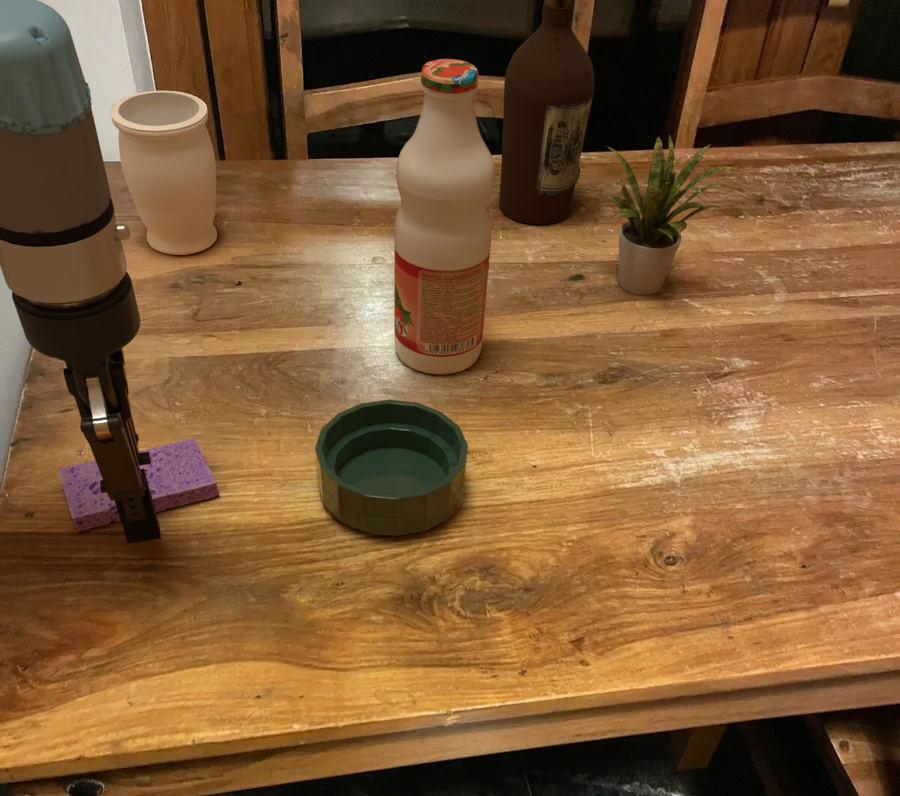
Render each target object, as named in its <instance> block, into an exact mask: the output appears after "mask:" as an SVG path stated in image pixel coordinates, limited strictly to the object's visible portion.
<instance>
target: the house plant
mask: <svg viewBox="0 0 900 796" xmlns="http://www.w3.org/2000/svg"><path fill="white" fill-rule="evenodd" d="M671 137H672V136H671V134H669V135H668V154H667V159H666V157H665V153H664V150H663V141H662V140H661V139H660V135H658V136H657V138H656V141H655V143H654V147H653V152H652V158H651V164H650V169H649V173H648V178H647V187H646V191H645V197H644V199H643V197H642V194H641V191H640V187H639V184H638V181H637V177H636V176H635V173H634V171H633V169H632V167H631V166H630V164H629V162H628V161H627V160H626V159H625V158H624V157H623V155H621V154H620V153H619V152H618V150H616V149H615V148H613V147H610V146H608V145H606V147H607V148H608V149H609V150H610V151H611V152H612V153H613V155H614V156H615V157H616V158H617V160H618V161H619V163H620V164H621V166H622V168H623V170H624V172H625V174H626V175H625V174H623V173H622V172H620V174H621V175H622V176H623V178H624V179H625V180H626V181H627V182H628V184H629V186H630V187H631V190H632V192H633V195H634V197H635V200H636V203H637V206H638V209H639V210H638V209H637V207H636V204H635V202H634V200H633V198H632V196H631V194H630V192H629V190H628V188H627V186H626V184H625V183H624V182H623V181H622V180H621V179H619V184H620V186H621V193H622V197H623V199H622V198H621V197H618V196H614V195H611V196H606V197H605V199H606V198H607V199H608V201H609V202H611V203H612V204H613V205H615V206H616V207H617V208H618V209H619V210H618V212H617V213H616V215H615V216H614V217H613V219H615V218H617V217H618V218H627V220H628V221H625V222H623V223H622V225H621V226H620V228H619V234H618V235H619V236H618V237H619V238H618V267H617V269H618V270H617V271H618V272H617V273H618V274H617V282H618V285H619V286H620V287H621V288H622V289H624V290H625V291H627V292H630V293H632V294H634V295H641V296H646V295H653V294H656V293H658V292H659V291H660V290H661V289H662V287H663V285H664V282H665V279H666V277H667V275H668V272H669V270H670V267H671V265H672V263H673V262H674V259H675V256H676V254H677V252H678V249H679V247H680V244H681V242H682V235H681V233H682V232H683V231H685V230H686V229H687V227H688V224H687V220H689V219H690V218H692V217H694V216H695V215H697V214H698V213H701V212H703V211H705V210H707V212H710V210H709V209H712V208H716V209H717V208H722V206H721V205H715V204H708V205H703V204H702V203H700V202H697V201H691V200H693V199H694V198H695V197H696V196H698V195H699V194H701V195H705V193H704V192H705V191H707V190H709V189H713V188H726V186H725V185H720V184H708V185H704V186H703V187H701V188H699V187H697V186H695V185H696V184H697V183H699V182H700V181H702V180H703V179H705V178H707V177H709V176H711V175H713V174H715V173H717V172H720V171H723V170H724V171H725V170H726V171H727V170H737V169H741V168H740V167H736V166H726V165H725V166H724V165H723V166H715V167H711V168H709V169H707V170H705V171H703V172H701V173H699V174H698V175H696V176H695V177H694V178H693V179H692V180H690V181H689V183H688V184H687V185H686V186H685V187H684V188H683V189H682V190H681V188H682V187H683V186H684V184H685V183H686V181H687V180H688V178H689V177H690V175H691V174H692V173H693V172H694V170H695V169H696V168H697V166H698V165H699V163H700V162H701V161H702V160H703V159H704V157H703V155H704V154H705V153H706V152H707V151H708V150H709V148H710V147H711V145H712V144H707V145H706V146H704V147H701V148H700V149H699V150H697V152H695V154H694V155H692V157H691V158H690V159H689V161H688V162H687V163H686V164H685V166H684V167H683V168H682V169H681V171H680V172H679V173H678V175H676V174H677V171H674V168H675V163H676V162H677V161H679V160H680V158H677V159H676V158H675V149H674V143H673V142H674V141H673V140H672V138H671ZM675 159H676V160H675ZM680 190H681V191H680ZM690 190H693V191H695V192H693V193H692V194H691V195H690V196H689V197H688V198H687V199H686V200H685V201H684V202H683V203H682V204H681V205H679V206H678V207H676V208H675V209H673V210H672V208H673V207H674V206H675V205H676V204H677V203H678V201H679V200H680V199H681V198H682V197H684V195H685V194H687V192H688V191H690ZM689 209H695V210H693V211H691V212H689V213H688V214H687V215H685V216H684V217H683V218H681V219H680V220H676V221H673V222H671V221H672V220H673V219H674V218H675V217H676V216H677V215H680V214H681V213H683V212H684V211H687V210H689ZM671 210H672V211H671ZM639 211H640V213H639ZM670 211H671V212H670ZM640 214H641V215H640Z"/></svg>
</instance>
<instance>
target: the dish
mask: <svg viewBox="0 0 900 796" xmlns="http://www.w3.org/2000/svg"><path fill="white" fill-rule="evenodd" d="M468 452H469V444H468V442H467V440H466V438H465V435H464V433H463V431H462V429H461V427H460V426H459V425H458V424H457V423H456V422H454V421H453V420H452V419H451V418H449V417H448V415H446V414H445V413H443V412H442V411H441V410H438V409H435V408H432V407H430V406H428V405H424V404H422V403H420V402H415V401H407V400H397V399H382V400H376V401H375V400H374V401H367V402H361V403H359V404H356V405H354V406H352V407H350V408H347V409H345V410H342V411H340V412H338V413H337V414H335V415H334V416H333V417H332V418H331V419H330V420H329V421H328V422H327V423H326V424H325V425H323V427H322V428H321V429H320V432H319V434H318V438H317V441H316V444H315V447H314V454H315V464H316V465H315V466H316V478H317V487H318V490H319V494H320V497H321V501H322V504H323V506H324V507H326V509H327V510H328V511H329V512H330V513H331V514H332V515H333V516H334V517H335V518H336V519H337V520H338V521H339V522H340V523H343V524H345V525H347V526H350V527H351V528H354V529H356V530H358V531H361V532H363V533H366V534H372V535H373V534H375V535H381V536H382V535H384V536H392V537H398V536H404V535H409V534H415V533H421V532H426V531H428V530H429V529H431V528H434V527H435V526H438V525H440V524H441V523H443V522H446V521H447V520H449V518H451V516H452V514H454V512H456V510H457V508H458V507H459V506H460V505H461V503H462V502H463V500H464V493H465V485H466V480H467V479H466V478H467V467H468V466H467V465H468Z"/></svg>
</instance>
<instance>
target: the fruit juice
mask: <svg viewBox="0 0 900 796" xmlns="http://www.w3.org/2000/svg"><path fill="white" fill-rule="evenodd" d="M420 84H421V85H420V88H421V90H422V92H423V103H422V108H421V112H420V115H419V118H418V122H417V125H416V128H415V130H414V132H413V134H412V136H411V137H410V138H409V139H408V141H407V142H405V144H404V145H403V147H402V149H400V153H399V154H398V157H397V161H396V171H395V177H396V178H395V179H396V186H397V190H398V193H399V198H400V205H399V206H398V209H397V213H396V216H395V221H394V222H395V223H394V236H393V237H394V239H393V242H394V243H393V247H394V249H393V250H394V282H393V283H394V285H393V286H394V291H393V292H394V295H393V296H394V306H393V307H394V308H393V309H394V310H393V311H394V312H393V313H394V317H393V319H394V321H393V323H394V329H393V330H394V333H393V334H394V335H393V336H394V347H395V351H396V354H397V356H398V357H399V359H400V360H401V361H402V362H403V363H404V364H405V365H406V366H408V367H409V368H411V369H414V370H415V371H418V372H422V373H425V374H431V375H448V374H449V375H451V374H454V373H459V372H462V371H464V370H467V369H469V368H470V367H472V366H473V365H474V364H475V363H476V362H477V360H478V359H479V357H480V355H481V353H482V348H483V342H484V330H485V319H486V318H485V317H486V308H487V307H486V305H487V293H488V282H489V281H488V280H489V271H490V270H489V269H490V258H491V257H490V256H491V249H492V220H491V215H490V212H489V209H488V204H489V202H490V199H491V196H492V193H493V190H494V187H495V182H496V181H495V180H496V167H495V162H494V158H493V156H492V153H491V151H490V149H489V147H488V146H487V144H486V142H485V141H484V138H483V137H482V134H481V132H480V129H479V124H478V120H477V116H476V112H475V102H474V96H475V95H476V94H477V93H478V87H479V70H478V68H477V67H476V66H475V65H474V64H472V63H470V62H468V61H465V60H461V59H453V58H440V59H434V60H430V61H428V62H426V63H425V64H423V66H422V68H421V73H420Z"/></svg>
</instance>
